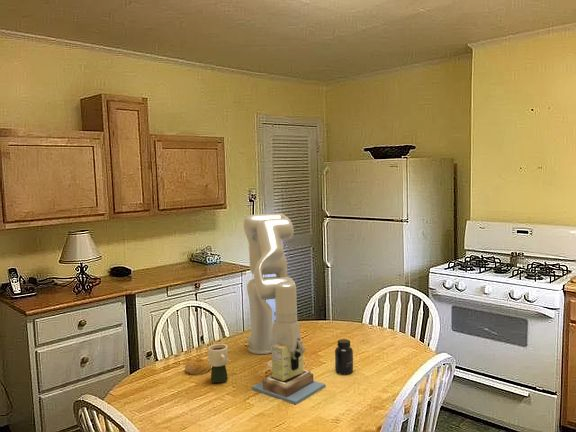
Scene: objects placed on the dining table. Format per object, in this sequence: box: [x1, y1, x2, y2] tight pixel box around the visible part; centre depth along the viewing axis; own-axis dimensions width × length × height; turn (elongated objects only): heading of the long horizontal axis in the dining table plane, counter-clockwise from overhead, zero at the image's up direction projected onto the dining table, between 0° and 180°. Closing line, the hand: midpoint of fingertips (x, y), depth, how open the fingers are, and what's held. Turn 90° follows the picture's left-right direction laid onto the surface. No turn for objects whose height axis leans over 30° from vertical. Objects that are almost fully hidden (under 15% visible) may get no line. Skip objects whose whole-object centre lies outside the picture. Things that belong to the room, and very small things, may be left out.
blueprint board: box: [251, 380, 326, 406], centre depth 178 cm, size 20×17×1 cm
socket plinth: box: [262, 369, 315, 397], centre depth 177 cm, size 11×15×4 cm
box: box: [271, 340, 304, 381], centre depth 177 cm, size 10×6×12 cm, turn 135°
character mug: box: [207, 343, 229, 383], centre depth 185 cm, size 11×7×13 cm, turn 31°
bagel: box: [184, 357, 212, 376], centre depth 197 cm, size 10×11×5 cm
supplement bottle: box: [334, 338, 354, 375], centre depth 191 cm, size 7×7×12 cm
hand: (287, 366), depth 177 cm, fingers closed on box, 6 cm apart
